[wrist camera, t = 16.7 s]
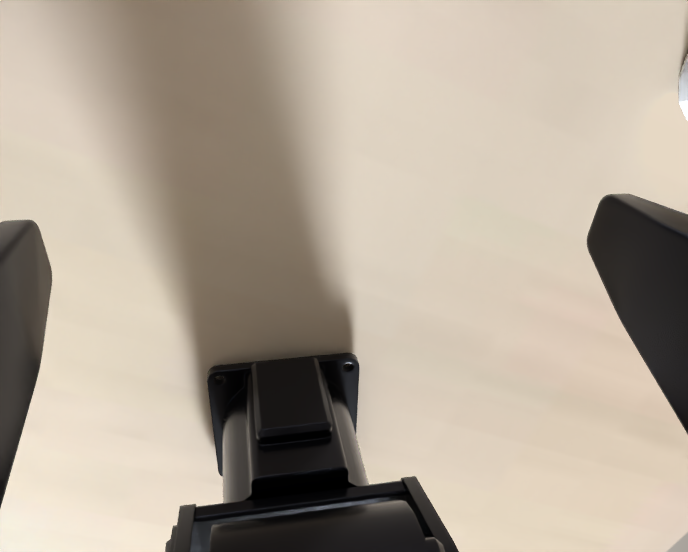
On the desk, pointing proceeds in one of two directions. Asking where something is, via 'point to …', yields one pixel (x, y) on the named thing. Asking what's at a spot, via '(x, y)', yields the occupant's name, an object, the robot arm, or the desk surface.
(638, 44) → the desk surface
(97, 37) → the desk surface
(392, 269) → the desk surface
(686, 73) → the rook chess piece
